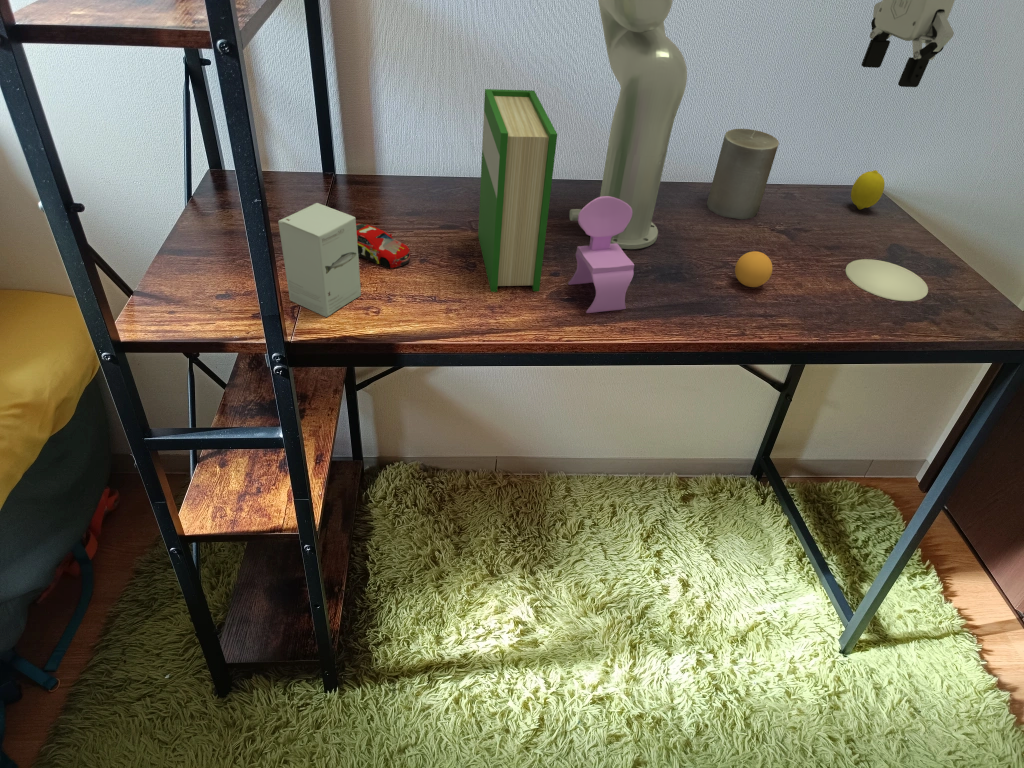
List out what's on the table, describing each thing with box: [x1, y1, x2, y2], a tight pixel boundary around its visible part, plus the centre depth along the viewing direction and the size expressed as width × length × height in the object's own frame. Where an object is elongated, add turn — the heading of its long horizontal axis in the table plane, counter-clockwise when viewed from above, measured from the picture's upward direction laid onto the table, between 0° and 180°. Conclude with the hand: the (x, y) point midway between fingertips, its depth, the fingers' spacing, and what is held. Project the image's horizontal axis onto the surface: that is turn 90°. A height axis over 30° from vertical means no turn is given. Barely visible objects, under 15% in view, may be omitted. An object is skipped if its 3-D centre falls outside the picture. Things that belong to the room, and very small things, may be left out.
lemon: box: [850, 169, 886, 211], centre depth 135 cm, size 6×6×8 cm
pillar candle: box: [706, 128, 780, 220], centre depth 129 cm, size 10×10×15 cm
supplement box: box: [277, 202, 362, 318], centre depth 96 cm, size 7×7×13 cm
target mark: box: [845, 258, 929, 302], centre depth 116 cm, size 13×13×1 cm
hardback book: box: [477, 88, 558, 293], centre depth 104 cm, size 18×7×24 cm, turn 9°
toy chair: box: [567, 196, 635, 314], centre depth 101 cm, size 8×9×15 cm
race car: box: [356, 223, 411, 269], centre depth 110 cm, size 13×5×4 cm, turn 58°
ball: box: [734, 251, 773, 288], centre depth 110 cm, size 6×6×6 cm
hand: (888, 76), depth 108 cm, fingers open, 9 cm apart
